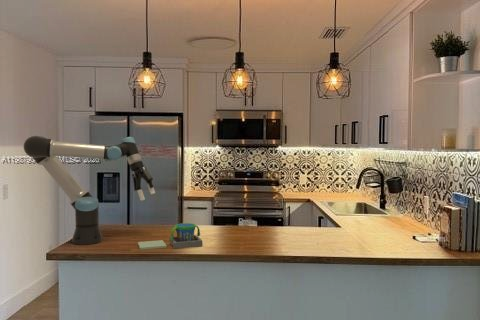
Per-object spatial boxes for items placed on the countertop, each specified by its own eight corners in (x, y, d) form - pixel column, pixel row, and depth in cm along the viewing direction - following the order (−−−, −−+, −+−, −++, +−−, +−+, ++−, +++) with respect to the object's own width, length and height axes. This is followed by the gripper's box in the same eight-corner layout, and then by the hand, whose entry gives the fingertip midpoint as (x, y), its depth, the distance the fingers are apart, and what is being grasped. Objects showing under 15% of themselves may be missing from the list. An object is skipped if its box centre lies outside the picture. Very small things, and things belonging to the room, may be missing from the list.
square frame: (174, 248, 205) (174, 242, 205) (169, 242, 218) (169, 236, 218) (202, 246, 210) (202, 240, 210) (195, 240, 223) (195, 234, 223)
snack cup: (196, 240, 222) (196, 221, 222) (203, 244, 213) (202, 225, 212) (168, 243, 216) (168, 224, 215) (173, 248, 206) (173, 228, 206)
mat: (140, 249, 203) (140, 247, 203) (137, 243, 215) (137, 242, 215) (166, 247, 207) (166, 245, 207) (162, 241, 220) (162, 240, 220)
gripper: (150, 154, 231) (163, 189, 229) (132, 168, 250) (144, 201, 247) (138, 156, 226) (151, 192, 224) (121, 171, 245) (133, 204, 242)
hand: (147, 197), depth 235 cm, fingers open, 13 cm apart
